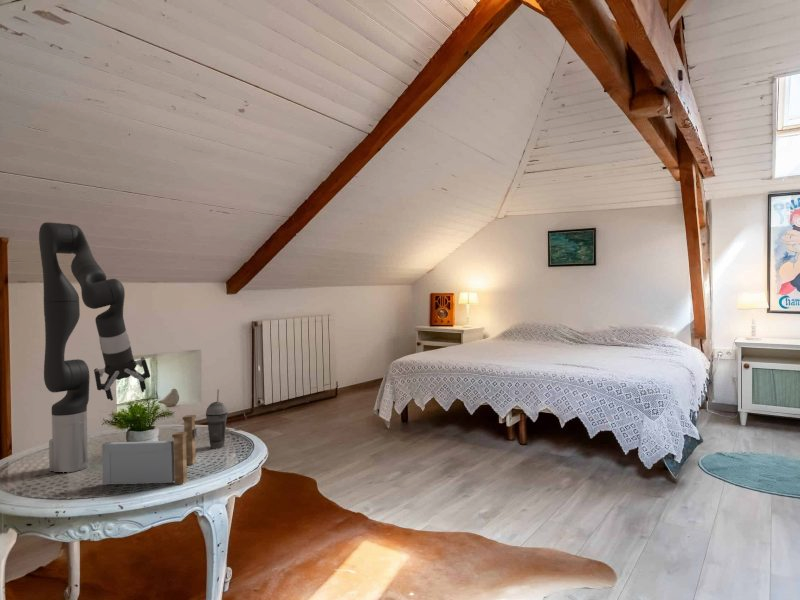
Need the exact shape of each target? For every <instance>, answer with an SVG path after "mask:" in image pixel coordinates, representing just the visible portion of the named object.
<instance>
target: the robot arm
mask: <svg viewBox="0 0 800 600" xmlns="http://www.w3.org/2000/svg"><path fill="white" fill-rule="evenodd" d="M38 243H39V244H38V245H39V252H40V259H41V266H42V267H41V268H42V277H43V278H42V280H43V282H42V283H43V316H44V331H45V334H44V335H45V337H44V338H45V347H44V362H43V363H44V364H43V381H44V384H45V387H46V389H47V390H48V392H51V393H53V394H54V393H61V392H62V393H63V392H66V393H65V396H64V397H62V398H61V399H60V400H58V401H56V402H55V403H53V404H52V405H51V437H52V438H51V439H49V440H48V455H49V456H48V458H49V472H50V471H55V472H63V473H62V474H65V473H64V472H67V473H72V472H79V471H81V470H84V469H86V468H87V467H88V466H89V451H88V450H89V448H88V446H89V443H88V441H89V439H88V411H87V410H88V409H87V408H88V404H89V400H90V379H91V377H90V376H91V375H90V370H89V369H90V368H89V366H88V364H87V363H86V361H85V360H83V359H69V360H65V352H66V346H67V343H68V340H69V339H70V336H71V335H72V333H73V332H74V329H75V327H76V326H77V324H78V323H79V320H80V317H81V315H80V314H81V310H80V296H79V293H78V291H77V290H76V288H75V287H74V285H73V284H72V283H71V281H70V280H69V278H67V276H66V275H65V274H64V273H63V271H62V268H61V266H60V265H59V260H58V256H57V254H65V255H68V254H74V255H75V256H74V257H73V259H72V261H71V264H70V269H71V273H72V275H73V276H74V278H75V279H76V281H77V282H78V284H79V285H80V289H81V292H80V293H81V299H82V302H83V304H84V305H85V307H87V308H89V309H93V310H94V309H99V308H104V307H108V306H109V307H108V309H106V310H105V311H103V312H101V313H99V314H98V315H97V316H96V317H95V325H96V330H97V333H98V338H99V339H98V341H99V347H100V350H101V354H102V358H103V361H104V368H95V369H94V370H93V371H94V372H93V373H94V378H95V383H96V384H95V385H96V389H97V390H98V391H105V394H106V398H107V400H110V401H114V397H113V394H112V391H111V387H112V385H113V384H114V382H115V380H118V381H120V380H122V379H127V378H130V377H133V378H134V379H137V380H138V383H139V388H140V392H141V393H144V392H145V390H147V386H146V382H145V380H147V379H148V378H150V377H151V374H150V369H149V367H148V363H147V360H146V358H145V357H143V356H141V358H140V359H138V360H135V358H134V355H133V351H132V345H131V341H130V339H129V335H128V331H127V329H126V325H125V319H124V305H125V295H126V293H125V287H124V285H123V283H122V282H121V281H120V280H119V279H116V278H110V279H107V275H106V273H105V272H104V270H103V269H102V268H101V265H100V264H98V262H97V261H96V258H95V257H94V255H93V253H92V250H91V248H90V244H89V243H88V240H87V238H86V235H85V234H84V231H83V230H82V228H80V227H79V226H78V225H76V224H71V223H62V222H51V221H50V222H47V221H46V222H43V223H42V224H41V225H40V228H39V232H38ZM137 365H138V366H139V367H140V368H142V369H143V373H140V372H139V371H138V370H137V369H136V368H137ZM104 373H105V374H107V378H106V380H105V382H104V383H102V381H101V378H102V377H103V375H104ZM55 472H54V473H55Z"/></svg>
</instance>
